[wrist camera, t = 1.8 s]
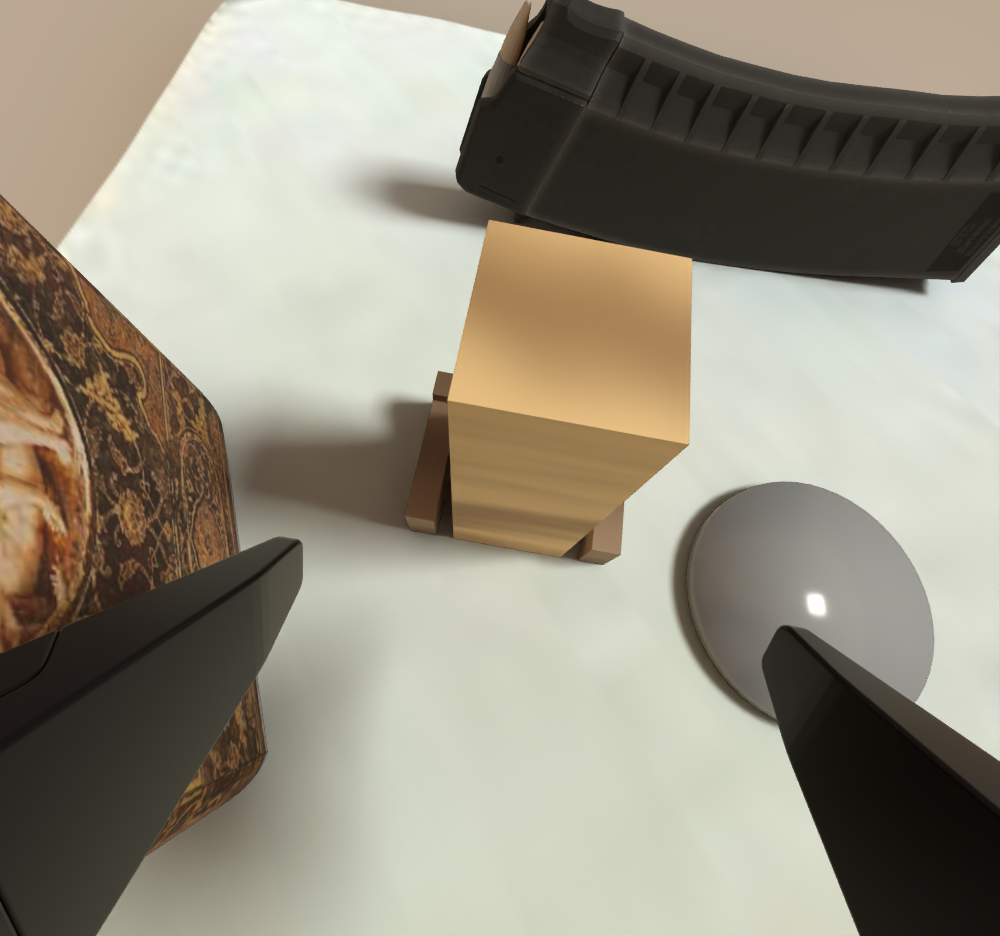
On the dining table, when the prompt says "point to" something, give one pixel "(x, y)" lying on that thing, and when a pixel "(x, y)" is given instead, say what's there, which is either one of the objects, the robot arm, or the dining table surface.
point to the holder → (435, 474)
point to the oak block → (565, 385)
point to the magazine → (729, 154)
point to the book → (105, 477)
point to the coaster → (806, 587)
